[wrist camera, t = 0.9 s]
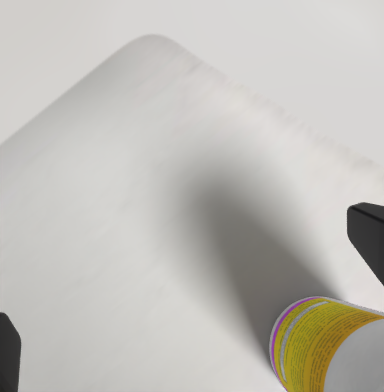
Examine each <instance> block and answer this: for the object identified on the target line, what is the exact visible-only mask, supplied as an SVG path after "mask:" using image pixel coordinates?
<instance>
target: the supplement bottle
mask: <svg viewBox="0 0 384 392" xmlns="http://www.w3.org/2000/svg"><path fill="white" fill-rule="evenodd" d="M269 351H270V359H271V364H272V367H273V370H274V372H275V374H276V376H277V378H278V380H279V381H280V383H281V384H282V386H283V387H284V388H285V389H286V391H287V392H384V313H383V312H379V311H376V310H372V309H369V308H365V307H362V306H358V305H355V304H351V303H348V302H344V301H340V300H336V299H333V298H328V297H322V296H313V297H307V298H303V299H300V300H298V301H296V302H294V303H292V304H291V305H290V306H288V307H287V308H286V309H285V310H284V311H283V312H282V313H281V314H280V316H279V317H278V318H277V320H276V322H275V324H274V326H273V329H272V332H271V336H270V343H269Z"/></svg>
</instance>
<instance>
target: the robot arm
mask: <svg viewBox="0 0 384 392" xmlns="http://www.w3.org/2000/svg"><path fill="white" fill-rule="evenodd" d="M347 234H348V237H349V240H350V241H351V243H352V244H353V246H354V247H355V248H356V250H357V251H358V252H359V254H360V255H361V256H362V258H363V259H364V260H365V262H366V263H367V264H368V266H369V267H370V269H371V270H372V271H373V273H374V274H375V275H376V277H377V278H378V279H379V281H380V282H381V283H382V284H383V286H384V206H380V205H375V204H370V203H365V202H362V203H358V204H355V205H352V206H350V207H349V208H348V210H347ZM20 356H21V338H20V335H19V333H18V332H17V330H16V329H15V327H14V325H13V324H12V322H11V321H10V319H9V317H8V316H7V315H6V314H5V313H3V312H0V392H18V383H19V369H20Z"/></svg>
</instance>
